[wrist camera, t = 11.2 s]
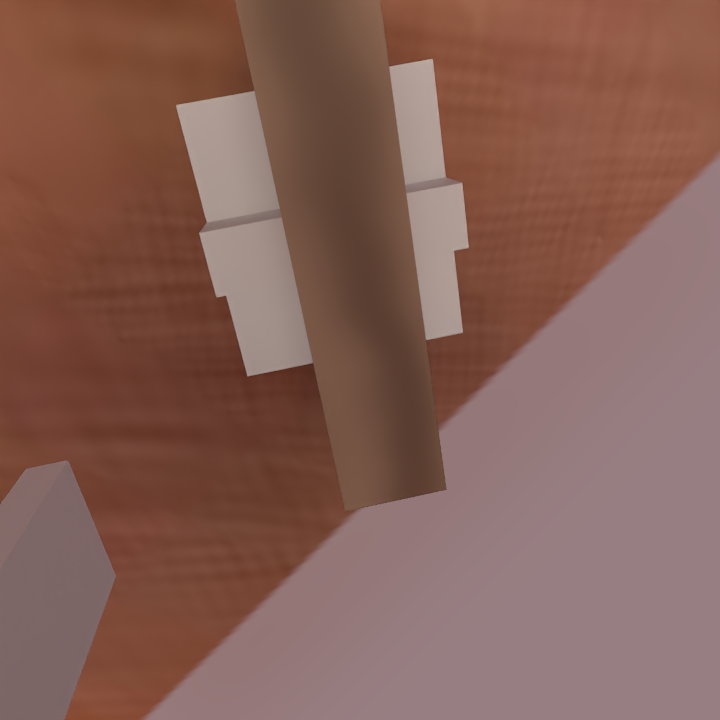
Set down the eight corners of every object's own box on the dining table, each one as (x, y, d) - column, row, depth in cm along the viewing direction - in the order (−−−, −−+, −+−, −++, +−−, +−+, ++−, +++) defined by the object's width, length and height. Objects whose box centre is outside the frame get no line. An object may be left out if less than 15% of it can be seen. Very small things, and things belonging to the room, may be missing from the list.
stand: (248, 370, 39) (241, 424, 32) (178, 105, 33) (151, 101, 26) (458, 327, 40) (495, 371, 33) (428, 60, 34) (466, 44, 27)
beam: (336, 457, 34) (345, 511, 29) (241, 11, 25) (231, -13, 21) (424, 439, 34) (446, 489, 29) (358, -10, 26) (375, -38, 21)
